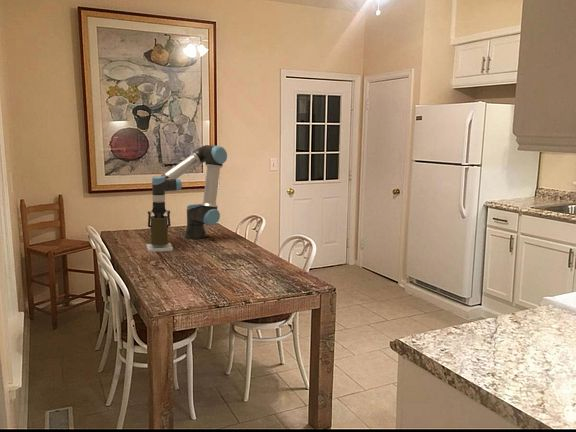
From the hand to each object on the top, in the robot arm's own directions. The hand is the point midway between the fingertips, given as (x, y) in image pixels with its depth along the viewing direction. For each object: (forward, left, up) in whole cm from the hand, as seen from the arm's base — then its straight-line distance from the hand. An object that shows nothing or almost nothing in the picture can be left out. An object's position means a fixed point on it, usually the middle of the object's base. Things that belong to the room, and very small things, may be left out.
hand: (159, 237), depth 306 cm
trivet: (0, 0, -7) cm, 7 cm away
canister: (0, 0, -4) cm, 4 cm away
